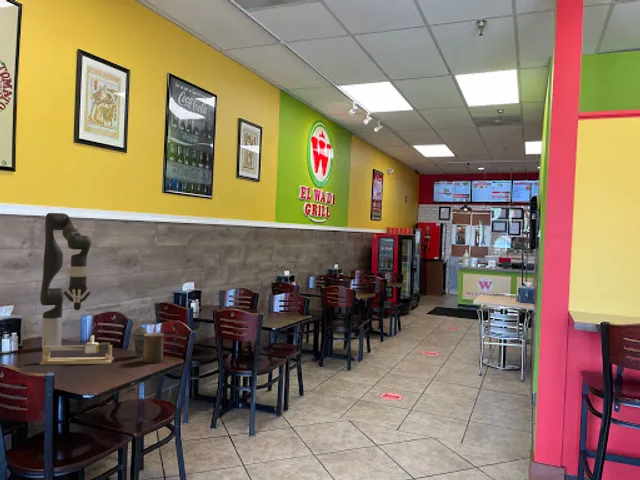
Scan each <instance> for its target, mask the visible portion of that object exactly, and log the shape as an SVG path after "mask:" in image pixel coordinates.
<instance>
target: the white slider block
mask: <svg viewBox="0 0 640 480" xmlns="http://www.w3.org/2000/svg"><path fill="white" fill-rule="evenodd" d="M97 344H100V343H99V342H98V341H97V342H96V341H95V335H91V336H90V337H89V342H86V343H85V350H84V354H97V353H98V352H96V345H97Z"/></svg>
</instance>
